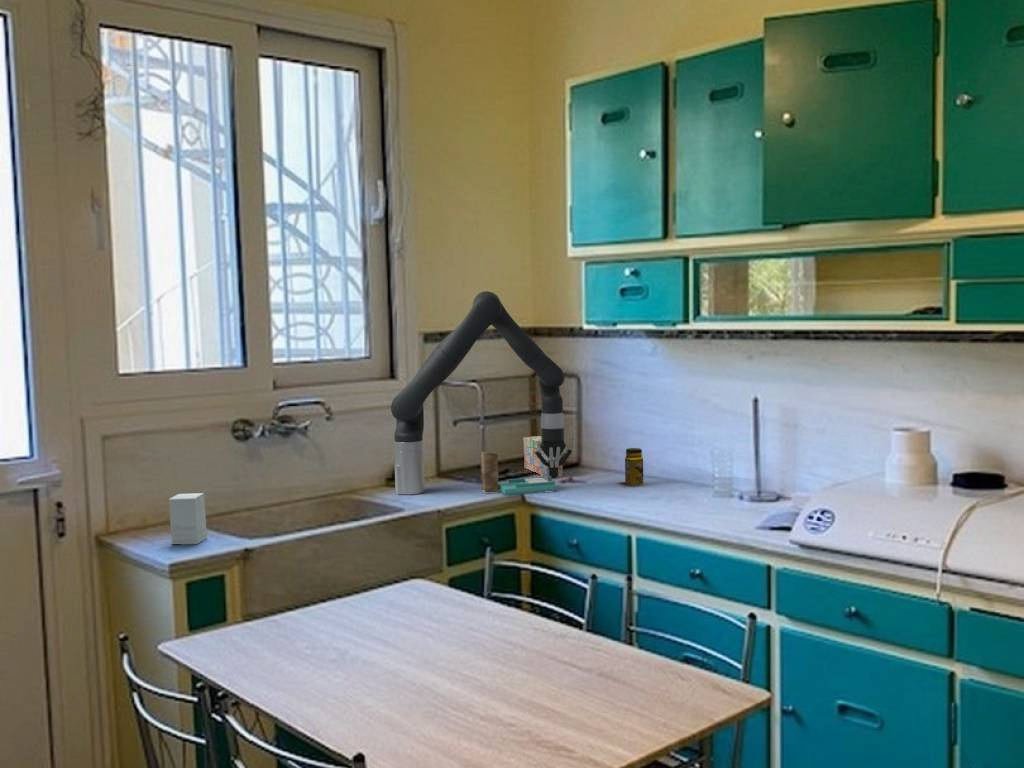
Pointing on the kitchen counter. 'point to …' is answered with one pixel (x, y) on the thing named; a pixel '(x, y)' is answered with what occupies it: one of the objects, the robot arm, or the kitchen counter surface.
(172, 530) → the supplement box
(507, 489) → the puzzle board
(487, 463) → the walnut post
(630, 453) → the condiment
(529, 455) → the white printed carton
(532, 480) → the sliding lid
